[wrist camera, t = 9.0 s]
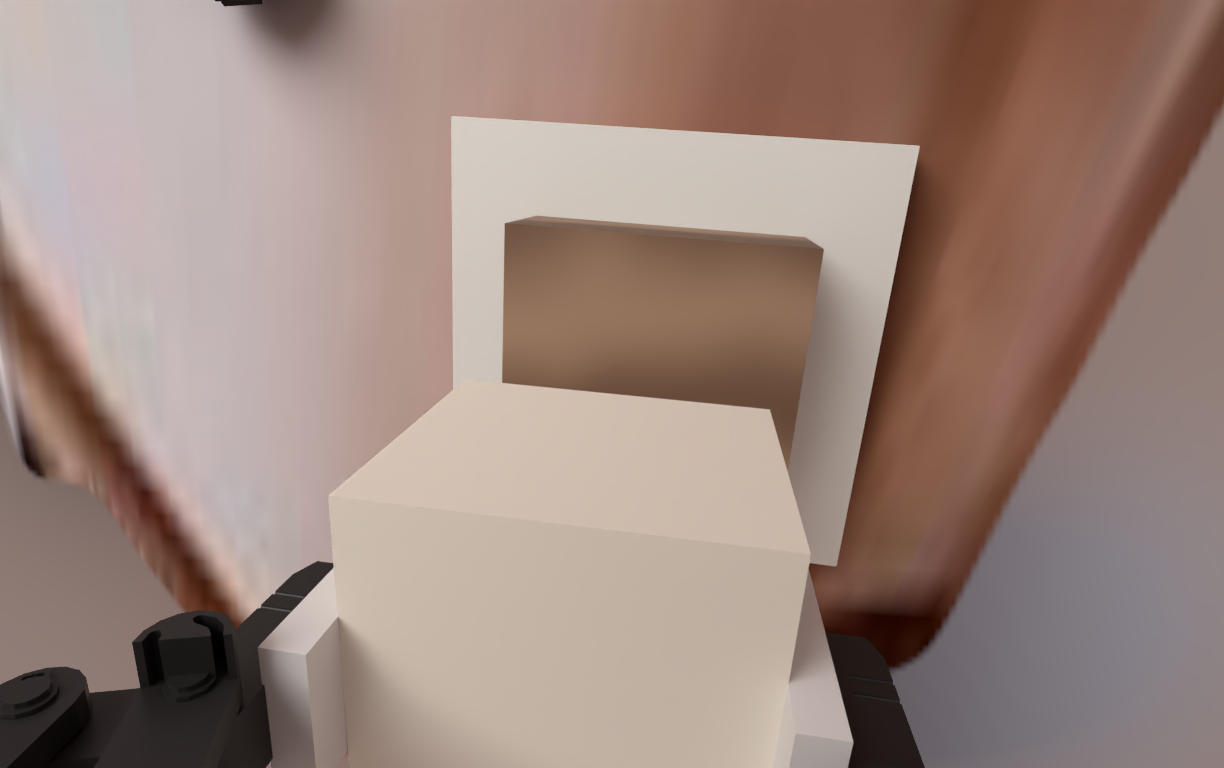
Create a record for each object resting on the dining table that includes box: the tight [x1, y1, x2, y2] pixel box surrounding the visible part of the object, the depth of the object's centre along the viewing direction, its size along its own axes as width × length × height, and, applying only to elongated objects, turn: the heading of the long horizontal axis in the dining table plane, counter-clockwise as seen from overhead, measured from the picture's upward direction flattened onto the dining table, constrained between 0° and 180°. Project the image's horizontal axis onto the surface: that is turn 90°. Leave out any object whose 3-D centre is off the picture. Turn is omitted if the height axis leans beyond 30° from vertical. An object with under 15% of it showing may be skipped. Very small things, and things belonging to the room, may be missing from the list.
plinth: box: [451, 116, 920, 566], centre depth 32 cm, size 20×20×2 cm
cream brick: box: [328, 379, 811, 768], centre depth 13 cm, size 7×7×6 cm
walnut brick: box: [502, 216, 824, 472], centre depth 29 cm, size 12×12×5 cm
